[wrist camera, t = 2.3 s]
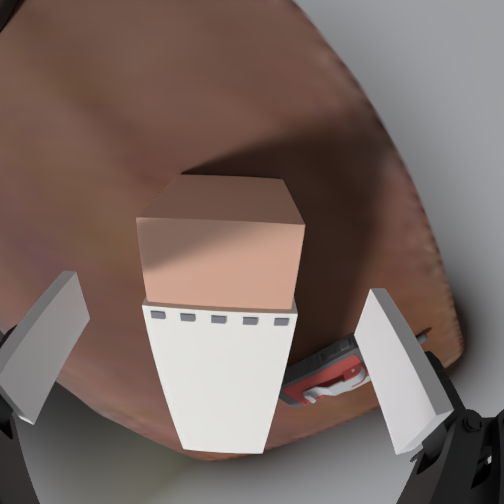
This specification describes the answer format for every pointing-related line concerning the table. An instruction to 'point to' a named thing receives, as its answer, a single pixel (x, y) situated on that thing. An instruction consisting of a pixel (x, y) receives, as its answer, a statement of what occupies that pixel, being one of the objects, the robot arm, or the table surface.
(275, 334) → the block
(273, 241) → the peach rectangular block
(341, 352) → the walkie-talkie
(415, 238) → the table surface
